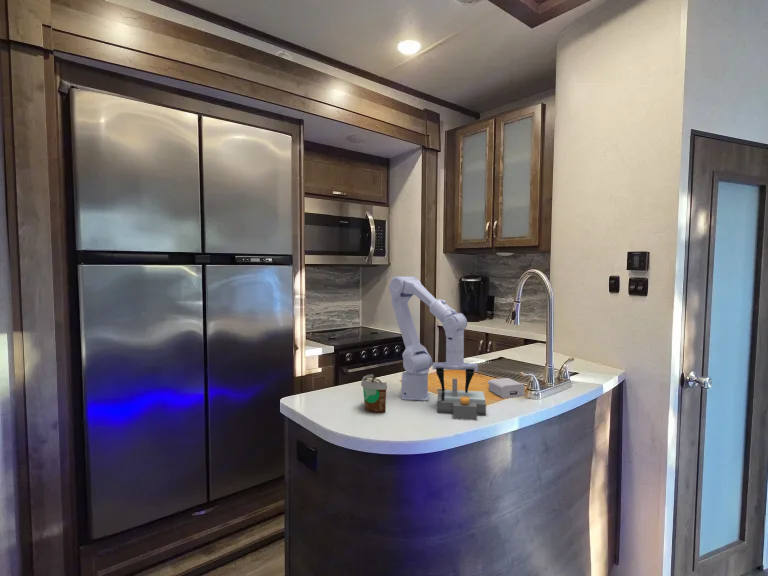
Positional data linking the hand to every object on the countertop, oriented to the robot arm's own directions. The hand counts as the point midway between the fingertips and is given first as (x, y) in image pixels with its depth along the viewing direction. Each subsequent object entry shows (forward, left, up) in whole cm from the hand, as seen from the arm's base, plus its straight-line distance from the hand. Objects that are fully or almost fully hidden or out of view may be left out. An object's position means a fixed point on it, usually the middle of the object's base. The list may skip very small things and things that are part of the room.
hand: (454, 391), depth 129 cm
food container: (-27, -6, -6) cm, 28 cm away
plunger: (+3, -8, -1) cm, 9 cm away
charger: (+18, +21, -6) cm, 28 cm away
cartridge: (+3, 0, -4) cm, 5 cm away
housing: (+2, -2, -5) cm, 6 cm away
